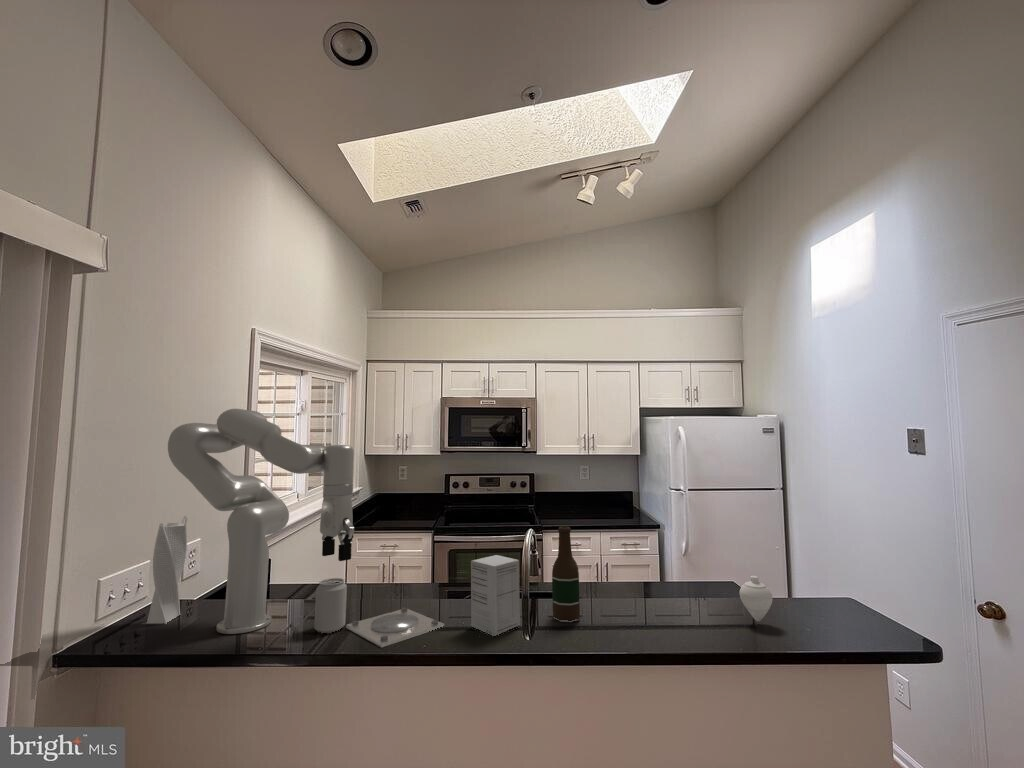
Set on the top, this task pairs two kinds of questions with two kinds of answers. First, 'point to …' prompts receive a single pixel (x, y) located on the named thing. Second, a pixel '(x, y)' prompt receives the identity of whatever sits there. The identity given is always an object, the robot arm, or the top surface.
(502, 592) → the supplement box
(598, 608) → the top surface
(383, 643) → the flange
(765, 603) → the spinning top
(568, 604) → the beer bottle
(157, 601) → the skyscraper
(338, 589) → the can
